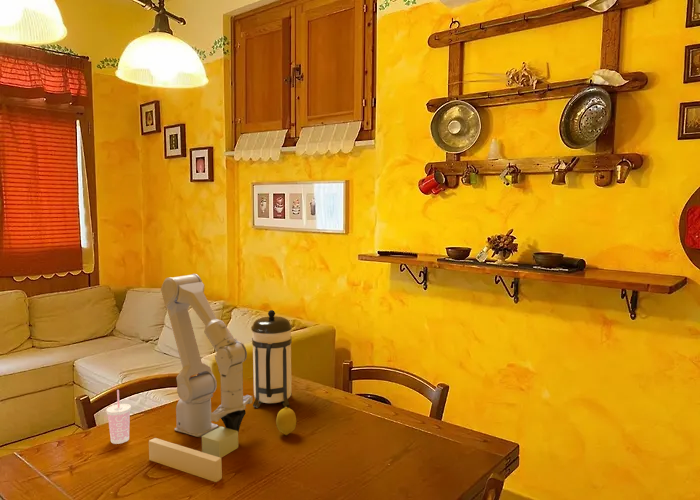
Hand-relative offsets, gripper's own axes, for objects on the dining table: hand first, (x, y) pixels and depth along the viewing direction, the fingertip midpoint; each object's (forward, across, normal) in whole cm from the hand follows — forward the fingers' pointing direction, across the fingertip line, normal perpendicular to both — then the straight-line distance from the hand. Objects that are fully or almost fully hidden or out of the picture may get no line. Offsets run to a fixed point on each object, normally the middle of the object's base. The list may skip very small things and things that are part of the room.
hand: (233, 437), depth 143 cm
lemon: (+2, +10, -10) cm, 15 cm away
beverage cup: (+2, -13, +28) cm, 31 cm away
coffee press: (+2, +28, +7) cm, 28 cm away
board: (+1, -16, +1) cm, 17 cm away
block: (+1, -5, 0) cm, 5 cm away
